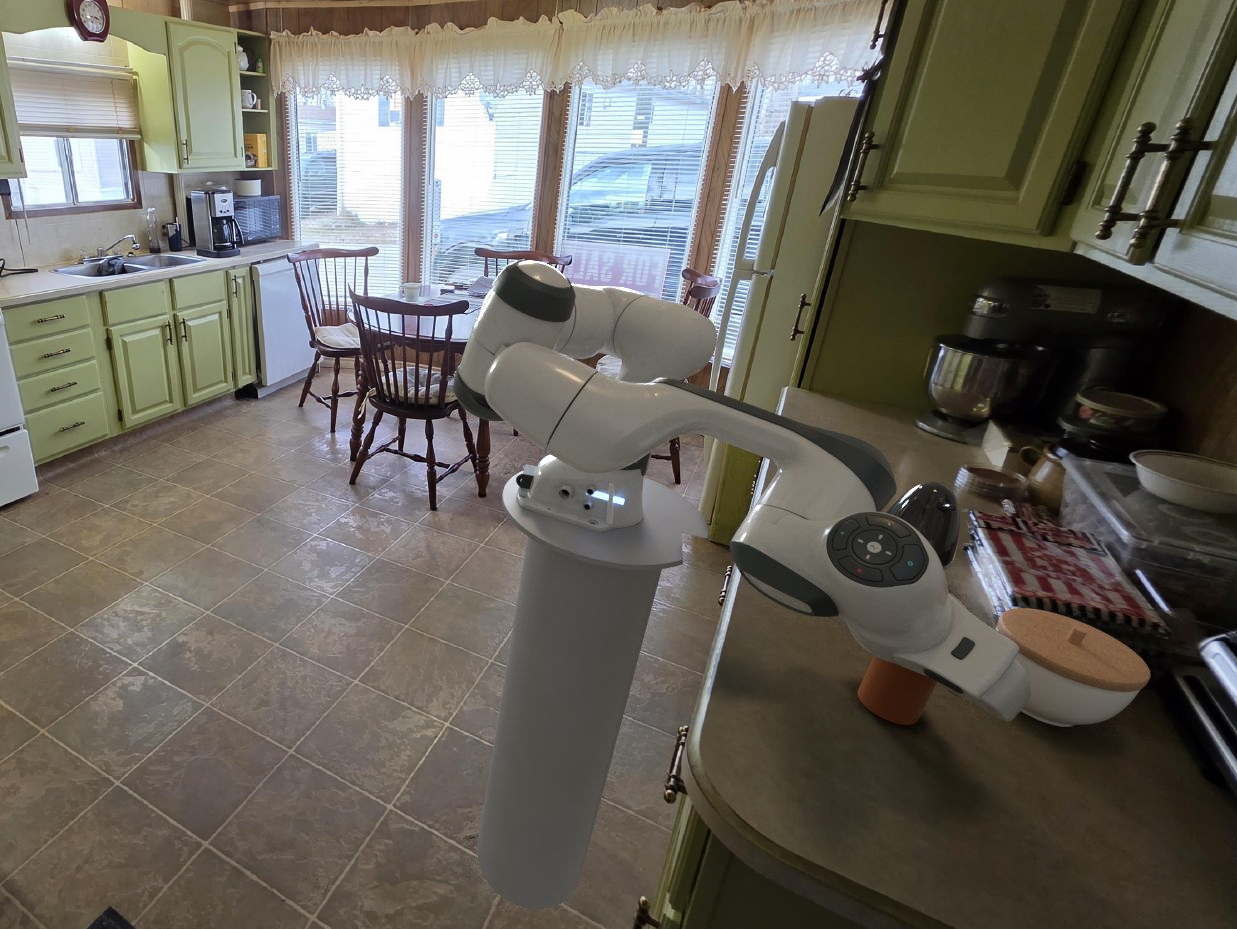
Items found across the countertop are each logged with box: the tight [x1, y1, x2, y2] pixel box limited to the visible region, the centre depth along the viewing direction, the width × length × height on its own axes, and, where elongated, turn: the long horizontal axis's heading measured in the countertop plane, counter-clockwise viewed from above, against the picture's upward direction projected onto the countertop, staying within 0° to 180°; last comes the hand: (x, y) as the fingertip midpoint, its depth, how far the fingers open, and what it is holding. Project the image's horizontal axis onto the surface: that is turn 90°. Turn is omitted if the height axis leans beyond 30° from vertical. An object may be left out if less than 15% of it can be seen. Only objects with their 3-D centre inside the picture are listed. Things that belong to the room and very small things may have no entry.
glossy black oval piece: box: [885, 481, 961, 571], centre depth 101 cm, size 10×10×15 cm
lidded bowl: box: [994, 607, 1151, 728], centre depth 78 cm, size 13×13×11 cm
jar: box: [857, 655, 938, 726], centre depth 76 cm, size 6×6×13 cm
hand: (912, 662), depth 76 cm, fingers open, 8 cm apart
